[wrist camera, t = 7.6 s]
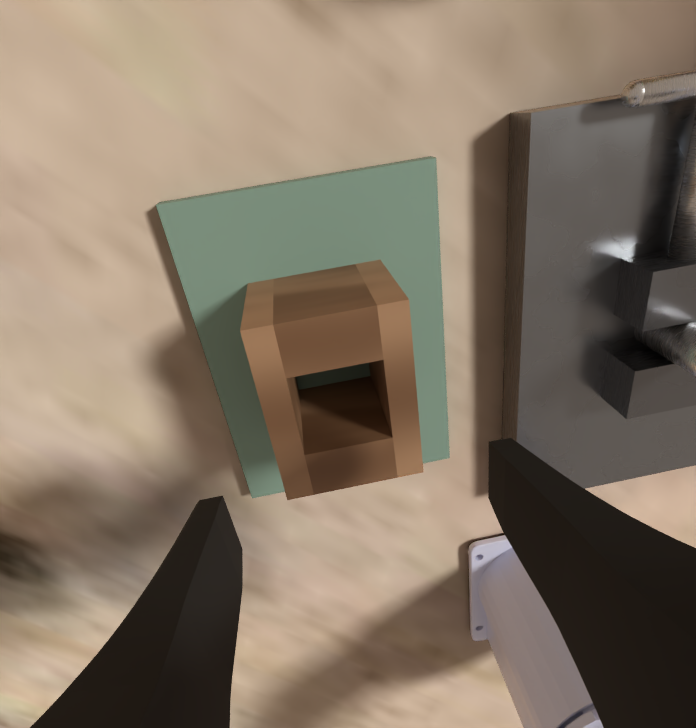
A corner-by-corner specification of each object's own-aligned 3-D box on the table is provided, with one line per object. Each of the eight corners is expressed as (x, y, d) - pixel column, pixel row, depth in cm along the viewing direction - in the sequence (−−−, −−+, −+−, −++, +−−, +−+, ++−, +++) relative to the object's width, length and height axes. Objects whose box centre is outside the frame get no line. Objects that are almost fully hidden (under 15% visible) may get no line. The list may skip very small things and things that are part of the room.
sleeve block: (396, 406, 22) (423, 472, 18) (285, 428, 21) (287, 500, 17) (380, 259, 18) (408, 299, 14) (247, 283, 18) (240, 330, 14)
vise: (707, 439, 26) (838, 537, 20) (500, 482, 26) (571, 597, 20) (822, 46, 17) (1121, 8, 11) (510, 97, 17) (646, 87, 11)
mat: (445, 450, 24) (449, 457, 24) (252, 489, 24) (252, 498, 23) (430, 156, 17) (436, 157, 17) (159, 202, 17) (155, 205, 16)
